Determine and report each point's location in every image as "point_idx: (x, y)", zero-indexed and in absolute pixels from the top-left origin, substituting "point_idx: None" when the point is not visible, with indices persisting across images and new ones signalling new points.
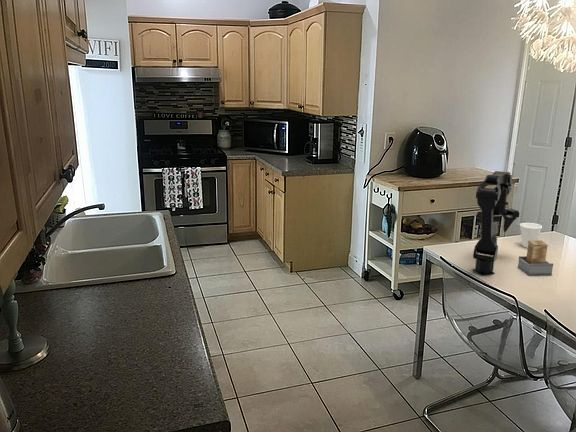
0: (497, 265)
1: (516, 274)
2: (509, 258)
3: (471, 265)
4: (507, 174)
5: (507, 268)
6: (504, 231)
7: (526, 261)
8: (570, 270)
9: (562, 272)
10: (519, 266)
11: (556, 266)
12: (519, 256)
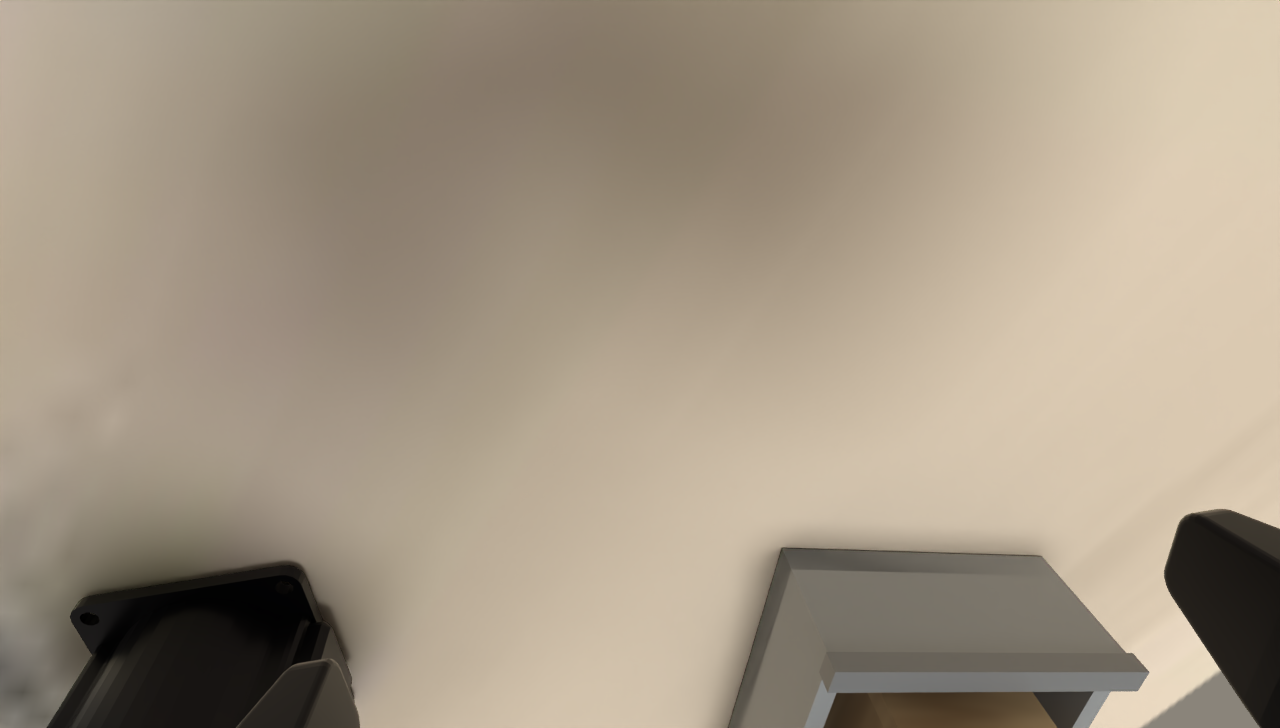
0: (550, 468)
1: (617, 713)
2: (924, 232)
3: (117, 425)
4: None
5: (625, 568)
6: (1177, 565)
7: None
8: None
9: None
10: (779, 599)
11: None
12: (840, 677)
